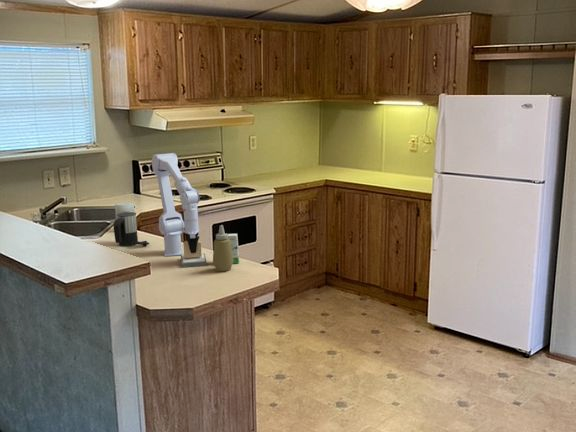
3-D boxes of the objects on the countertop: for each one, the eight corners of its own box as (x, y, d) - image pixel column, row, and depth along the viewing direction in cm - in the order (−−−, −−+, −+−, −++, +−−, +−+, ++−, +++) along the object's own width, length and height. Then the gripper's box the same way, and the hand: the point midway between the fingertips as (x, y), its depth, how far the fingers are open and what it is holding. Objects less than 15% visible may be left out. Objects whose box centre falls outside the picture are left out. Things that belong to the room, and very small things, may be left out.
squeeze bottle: (209, 271, 247) (207, 227, 243) (218, 266, 254) (216, 222, 251) (228, 273, 244) (226, 228, 241) (237, 267, 252) (235, 223, 248)
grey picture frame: (181, 258, 267) (180, 254, 267) (204, 257, 269) (204, 252, 269) (182, 267, 254) (181, 262, 254) (206, 265, 256) (206, 260, 255)
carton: (200, 253, 264) (200, 240, 263) (201, 256, 260) (200, 242, 258) (184, 255, 263) (183, 241, 261) (184, 257, 258) (183, 243, 257)
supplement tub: (114, 231, 326) (111, 203, 323) (131, 228, 332) (129, 201, 329) (121, 234, 319) (119, 205, 316) (138, 231, 324) (136, 203, 321)
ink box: (239, 260, 262) (237, 232, 260) (238, 263, 257) (237, 235, 255) (218, 261, 262) (216, 233, 259) (217, 264, 257) (215, 236, 255)
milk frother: (122, 242, 302) (119, 211, 299) (154, 241, 301) (152, 211, 298) (113, 249, 288) (110, 217, 285) (147, 248, 287) (144, 217, 284)
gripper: (180, 216, 264) (182, 248, 267) (181, 223, 250) (183, 256, 253) (197, 215, 266) (199, 246, 268) (199, 222, 252) (201, 255, 254)
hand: (193, 251), depth 261 cm, fingers closed on carton, 4 cm apart
